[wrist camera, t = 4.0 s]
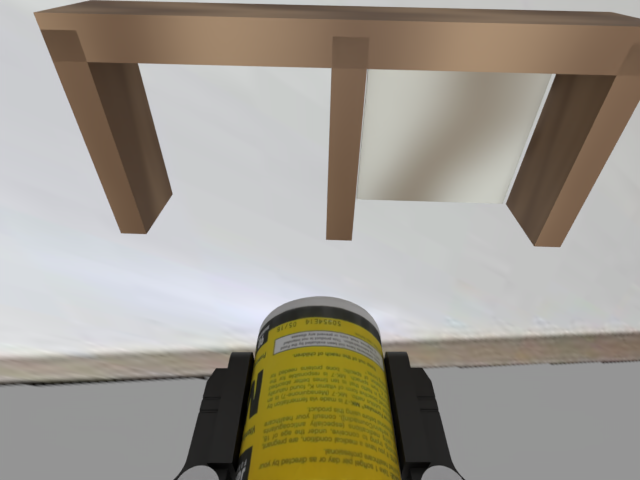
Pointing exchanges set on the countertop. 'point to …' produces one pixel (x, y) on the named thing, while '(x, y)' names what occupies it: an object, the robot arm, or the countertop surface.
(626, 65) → the wooden slotted rack
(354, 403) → the supplement bottle
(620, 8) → the countertop surface
